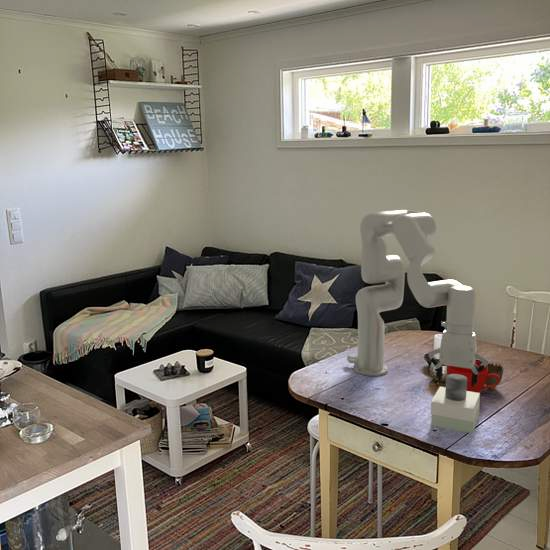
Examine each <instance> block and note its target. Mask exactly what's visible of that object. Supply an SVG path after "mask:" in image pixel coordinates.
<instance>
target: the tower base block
mask: <svg viewBox="0 0 550 550" xmlns="http://www.w3.org/2000/svg"><path fill="white" fill-rule="evenodd" d="M480 406H481V405H480V404H479V407H478V410H477V412H476V415H475V417H474V420H473V422H470V421H465V420H460V419H455V418H449V417H444V416H439V415H433V414H431V418H430V419H431V421H430V422H431V423H430V426H431V427H435V428H442V429H447V430H452V431H458V432H463V433H469V434H474V432H475V429H476V426H477V424H478V420H479V416H480Z"/></svg>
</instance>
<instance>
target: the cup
mask: <svg viewBox="0 0 550 550" xmlns="http://www.w3.org/2000/svg"><path fill="white" fill-rule="evenodd" d="M487 367H488V373H487V375H488V374H497V375H498V376H499V378H500V382H499V384H501V381H502V379H503V375H504V369H505V368H503V366H502V364H497V363H495V364H494V363H493V362H488V364H487ZM496 383H497V378H496V377H495V376H490V377H488V378H487V380H486V383H485V385H484V386H492V385H494V384H496ZM496 389H497V386H496V387H494V388H489V389H487V391H494V390H496Z"/></svg>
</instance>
